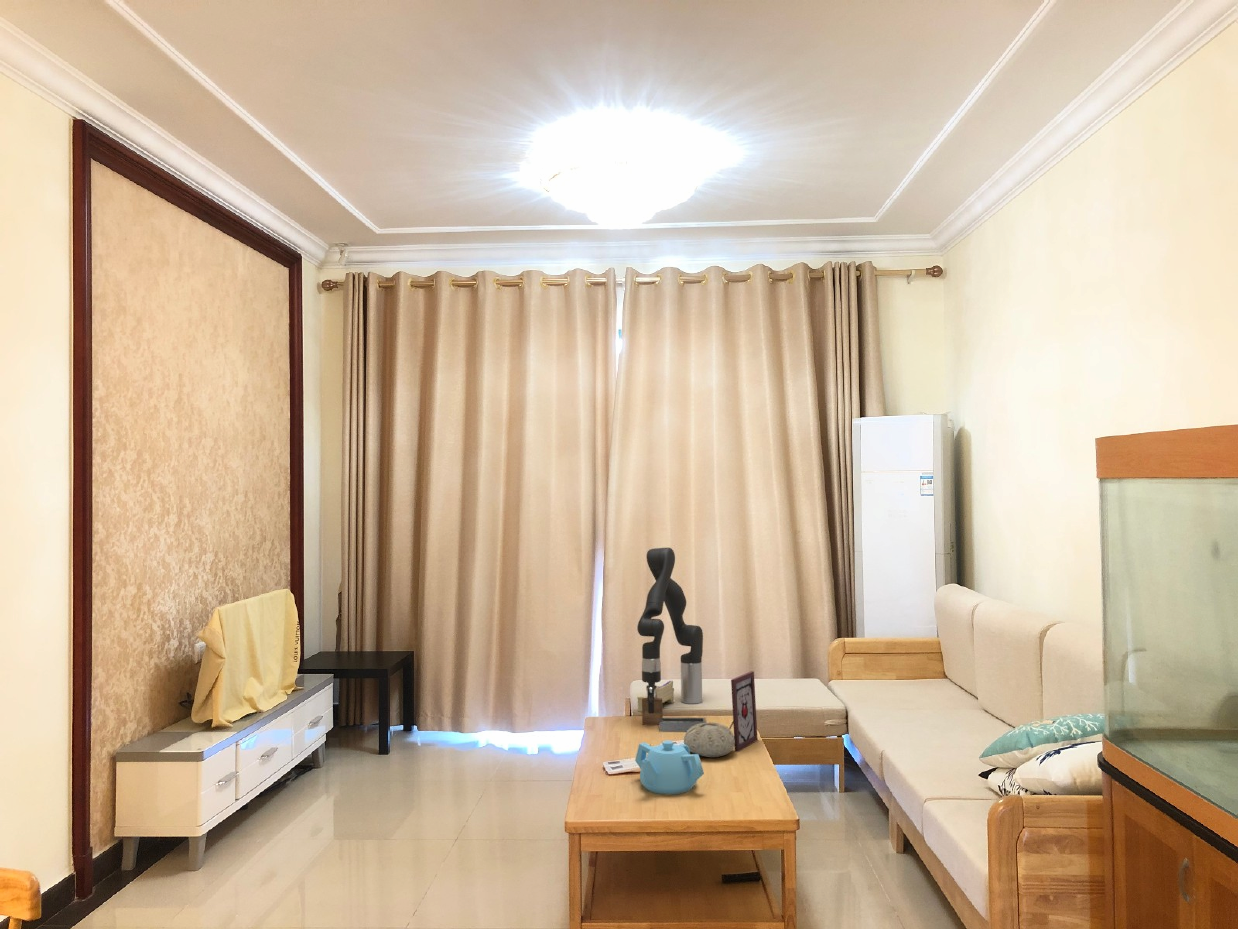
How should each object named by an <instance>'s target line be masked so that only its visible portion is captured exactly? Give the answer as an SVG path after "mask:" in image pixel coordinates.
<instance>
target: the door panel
mask: <svg viewBox="0 0 1238 929" xmlns="http://www.w3.org/2000/svg"><path fill="white" fill-rule="evenodd" d="M649 700H653V698H650V699H649ZM647 701H648V698H642V712H641V714H642V715H641V722H642V724H641V725H642V726H659V721H660V717H663V716H664V715H663V714H664V713H663V709H664V708H663V707H664V706H663V703H662V698H655V699H654V701H655V703H654V713H648V702H647ZM663 718H664V717H663Z"/></svg>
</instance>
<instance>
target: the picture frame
mask: <svg viewBox="0 0 1238 929" xmlns="http://www.w3.org/2000/svg"><path fill="white" fill-rule="evenodd" d="M730 682H731V683H730V684H731V687H730V688H731V700H732V701H731V702H732V704H731V705H732V718H733V719H732V722H731V724H730V725H729V727H728V728H729V729H730V730H731V729H732V728H733V735H734V740H735V745H734V752H737V753H738V752H740V751H741V750H743V749H745V748H746V747H748V746H750V745H752V744H753V743H755V742H757V741H758V725H757V724H758V723H757V705H756V689H755V688H756V687H755V686H756V685H755V672H754V671H753V670H752V671H748V672H746V673H744V674H742V675H739V676H736V677H734V678H732V679H730Z"/></svg>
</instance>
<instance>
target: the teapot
mask: <svg viewBox="0 0 1238 929" xmlns="http://www.w3.org/2000/svg"><path fill="white" fill-rule="evenodd" d="M634 761H635V763H636V764H637V765H638V767H639V769H640V772H639V781H640V783H641V784H642V786H643V787H644V788H645V790H648V791H649V792H652V793H654V794H659V795H679V794H683V793H687V792H689V791H690V790H692V789H693V787H694V786H695V784H696V783H697V782H698V780H699V779H700V778H701V777H703V775H705V772H704V769H703V765H702V762H701V759H700V755H699V754H695V753H692V754H691V752H690V749H689V747H688V746H687V745H685V744H684V743H680V744H675V742H674V741H673V740H664V741H661V744H658V745H655V746H652V745H650V743H649V744H648V743H646V742H641V743H638V747H637V751H636V755H635V760H634Z"/></svg>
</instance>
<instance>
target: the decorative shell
mask: <svg viewBox="0 0 1238 929" xmlns="http://www.w3.org/2000/svg"><path fill="white" fill-rule="evenodd" d="M729 728H730V727H728V726H726V725H724V724H720V723H719V722H713V721H712V722H711V721H709V722H706V723H699V724H697V725H694V726H692V727H691V728H690V729H689V730H687V732H685V734H684V736H683V744H685V745H687V746H688V747H689V749H690V753H692V754H698V755H699V756H702V757H706V758H718V757H722V756H725V755H728V754H729V753H731V752H732V750H733V749H734V748H735V740H734V732H733V731H732V730H731V729H729Z"/></svg>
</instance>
